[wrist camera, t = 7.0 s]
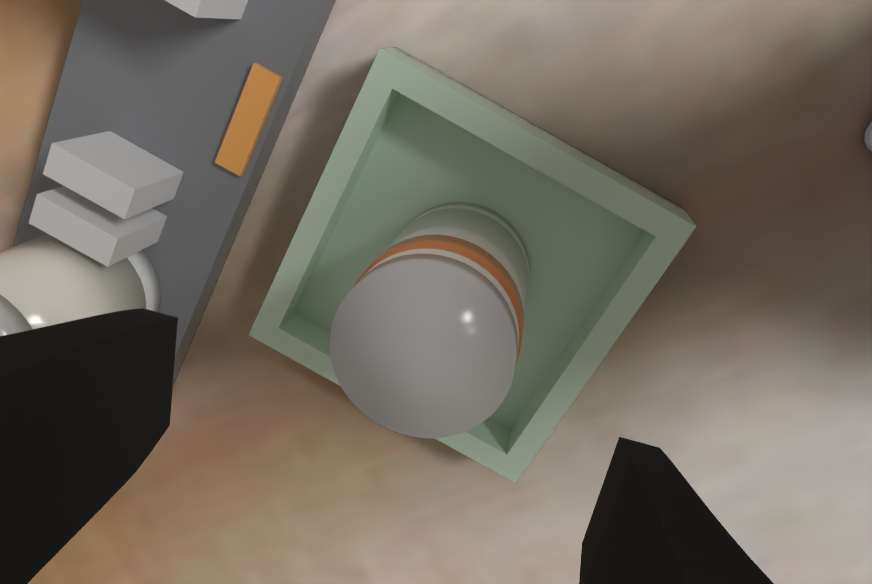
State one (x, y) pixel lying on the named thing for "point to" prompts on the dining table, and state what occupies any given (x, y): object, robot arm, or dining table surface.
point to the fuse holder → (168, 134)
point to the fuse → (69, 285)
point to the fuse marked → (435, 323)
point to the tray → (504, 194)
